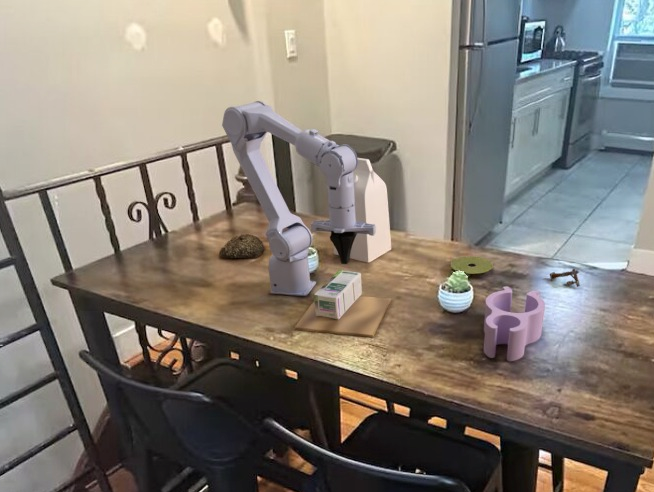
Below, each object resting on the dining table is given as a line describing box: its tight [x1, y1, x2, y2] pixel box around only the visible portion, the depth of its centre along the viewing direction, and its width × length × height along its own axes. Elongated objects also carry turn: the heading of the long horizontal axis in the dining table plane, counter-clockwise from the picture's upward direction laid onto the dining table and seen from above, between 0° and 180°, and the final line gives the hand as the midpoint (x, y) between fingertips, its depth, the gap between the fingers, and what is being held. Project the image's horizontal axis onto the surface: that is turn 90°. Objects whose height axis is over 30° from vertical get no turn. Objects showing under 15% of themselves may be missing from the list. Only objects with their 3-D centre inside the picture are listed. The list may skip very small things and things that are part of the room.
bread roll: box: [218, 233, 265, 259], centre depth 171 cm, size 13×12×5 cm
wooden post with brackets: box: [549, 268, 581, 288], centre depth 151 cm, size 2×8×4 cm, turn 44°
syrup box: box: [313, 269, 363, 320], centre depth 140 cm, size 6×6×14 cm
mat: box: [450, 256, 494, 275], centre depth 158 cm, size 11×11×2 cm
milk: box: [333, 157, 392, 264], centre depth 164 cm, size 12×12×26 cm
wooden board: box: [293, 295, 392, 338], centre depth 139 cm, size 18×18×1 cm
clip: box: [483, 285, 546, 362], centre depth 127 cm, size 20×12×7 cm, turn 160°
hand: (345, 262), depth 138 cm, fingers closed
